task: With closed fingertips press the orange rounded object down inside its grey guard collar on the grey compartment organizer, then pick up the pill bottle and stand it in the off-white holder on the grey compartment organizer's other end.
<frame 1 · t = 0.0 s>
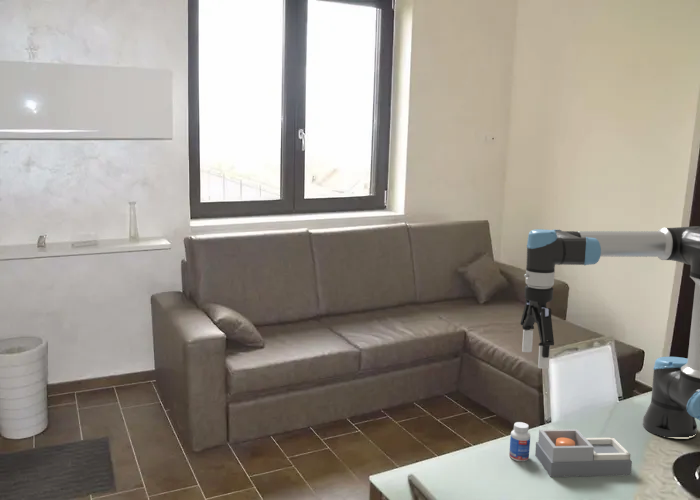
hand: (534, 359, 178), 28 cm above the table, fingers open, 13 cm apart
orange rounded object: (565, 448, 175), point 5 cm above the table, slide at 0.0 cm
pill bottle: (519, 457, 180), on the table
grey compartment organizer: (581, 464, 176), on the table
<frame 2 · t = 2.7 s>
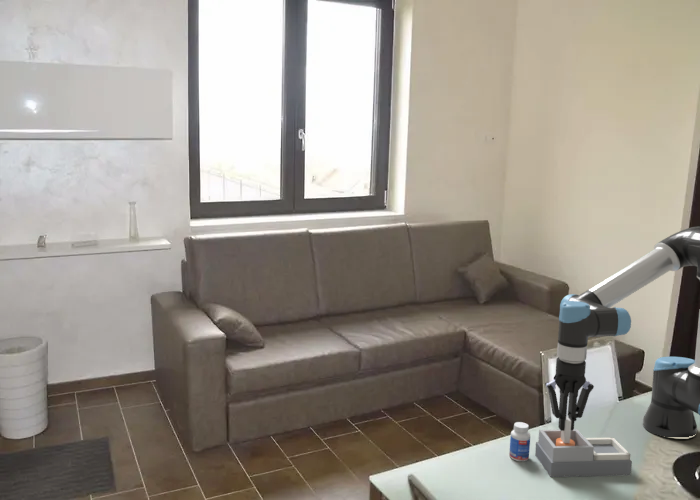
hand: (565, 440, 175), 7 cm above the table, fingers closed
orange rounded object: (565, 448, 175), point 5 cm above the table, slide at 0.0 cm, touching gripper
everything else where it was.
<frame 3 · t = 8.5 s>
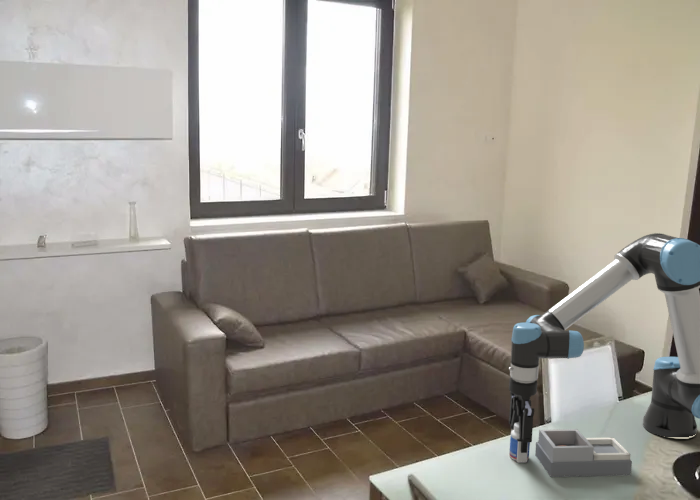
hand: (518, 456, 180), 0 cm above the table, fingers closed on pill bottle, 5 cm apart
orange rounded object: (564, 455, 175), point 3 cm above the table, slide at 2.3 cm
pill bottle: (519, 458, 180), on the table, touching gripper
when the fingers open (6 cm above the table, at t = 13.6 s): pill bottle drops 1 cm, resting on grey compartment organizer.
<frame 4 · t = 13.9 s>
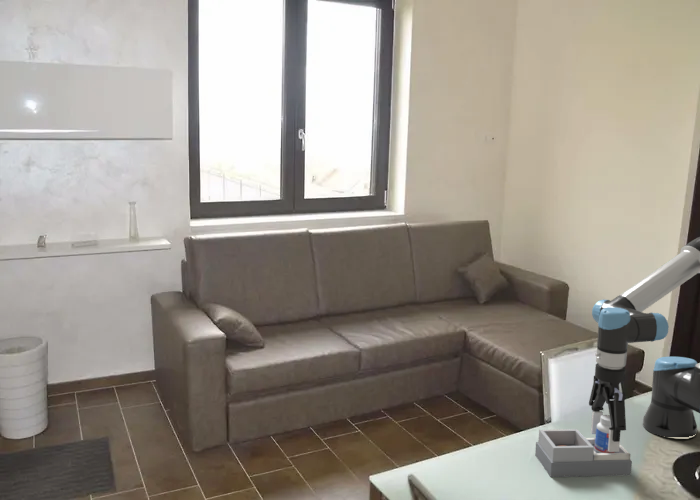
hand: (604, 442, 175), 7 cm above the table, fingers open, 10 cm apart
pill bottle: (604, 451, 176), point 4 cm above the table, touching grey compartment organizer
everything else where it was.
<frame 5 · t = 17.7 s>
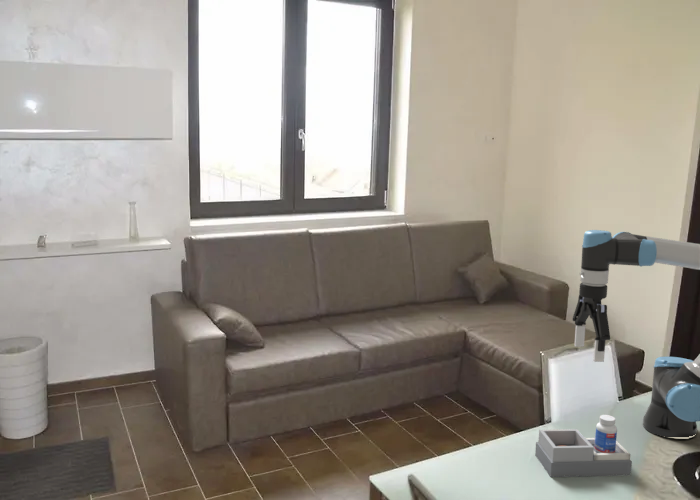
hand: (588, 353, 188), 27 cm above the table, fingers open, 13 cm apart
nothing on the table moved.
at the end: orange rounded object slide at 2.3 cm; pill bottle inside the target area on the grey compartment organizer (0.4 cm from its centre), point 3.8 cm above the grey compartment organizer's base; pill bottle tilted 1° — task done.
